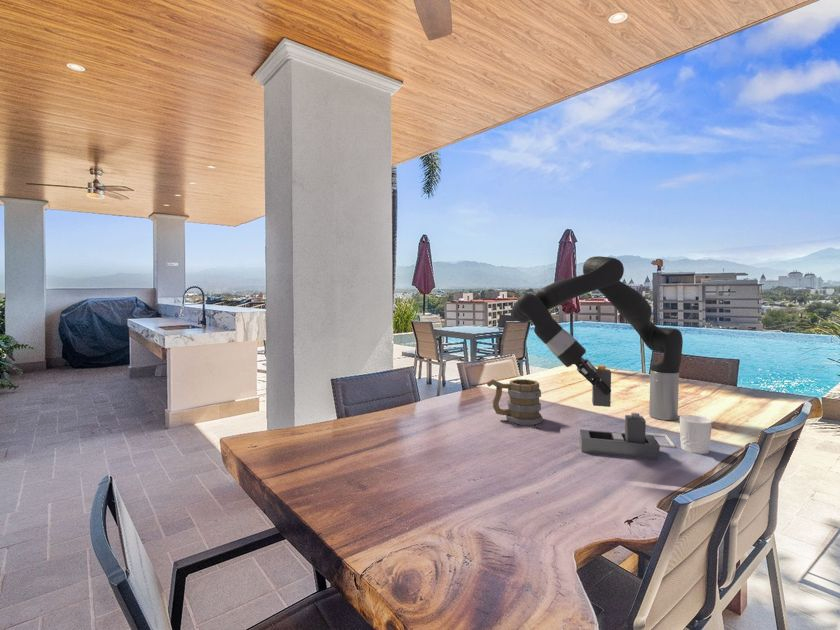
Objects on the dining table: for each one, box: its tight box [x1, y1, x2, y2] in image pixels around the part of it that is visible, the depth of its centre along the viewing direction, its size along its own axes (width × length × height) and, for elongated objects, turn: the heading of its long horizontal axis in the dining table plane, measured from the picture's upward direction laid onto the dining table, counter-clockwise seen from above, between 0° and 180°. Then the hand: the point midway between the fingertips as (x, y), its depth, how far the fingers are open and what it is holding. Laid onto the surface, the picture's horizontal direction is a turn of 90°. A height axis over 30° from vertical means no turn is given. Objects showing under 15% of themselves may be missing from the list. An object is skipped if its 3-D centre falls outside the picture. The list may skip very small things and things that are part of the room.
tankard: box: [486, 378, 544, 426], centre depth 155 cm, size 20×13×15 cm, turn 84°
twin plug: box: [624, 412, 647, 443], centre depth 121 cm, size 4×4×11 cm
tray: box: [645, 432, 676, 449], centre depth 131 cm, size 10×10×2 cm
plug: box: [591, 365, 612, 408], centre depth 123 cm, size 4×4×11 cm
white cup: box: [679, 414, 713, 455], centre depth 123 cm, size 8×8×10 cm
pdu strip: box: [579, 429, 661, 461], centre depth 123 cm, size 8×20×5 cm, turn 73°
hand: (608, 390), depth 122 cm, fingers closed on plug, 4 cm apart
